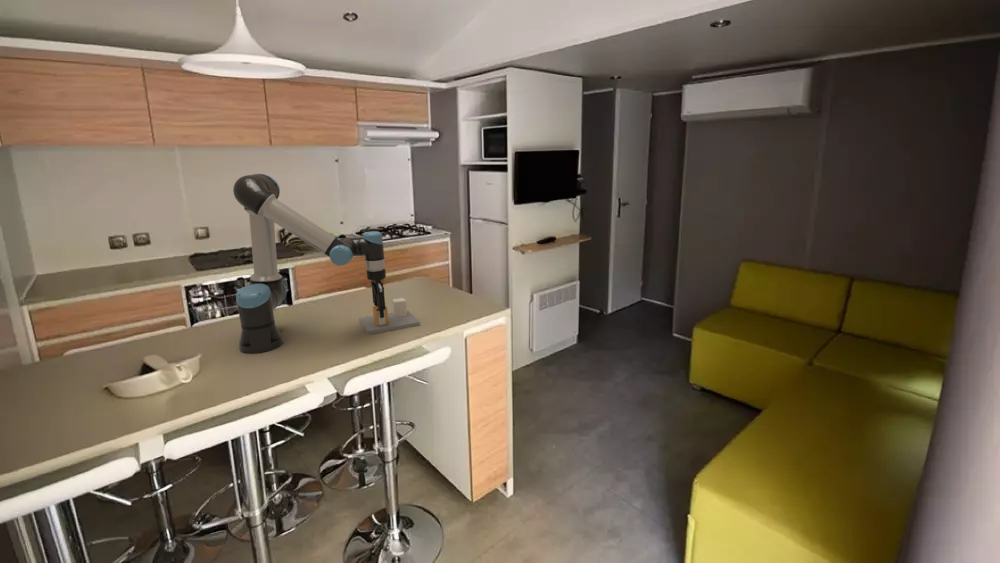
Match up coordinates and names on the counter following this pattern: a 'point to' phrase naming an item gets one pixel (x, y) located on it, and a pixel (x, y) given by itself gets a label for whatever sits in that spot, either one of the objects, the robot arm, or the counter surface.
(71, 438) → the counter surface
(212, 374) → the counter surface
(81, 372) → the counter surface
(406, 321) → the plate
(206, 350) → the counter surface
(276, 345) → the robot arm
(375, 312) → the orange rectangular block
